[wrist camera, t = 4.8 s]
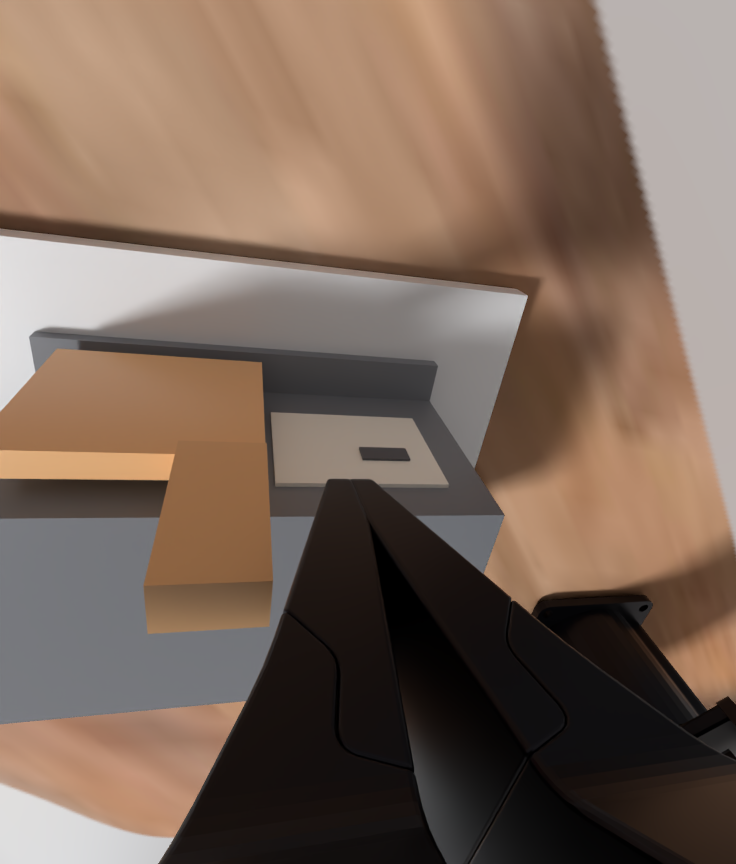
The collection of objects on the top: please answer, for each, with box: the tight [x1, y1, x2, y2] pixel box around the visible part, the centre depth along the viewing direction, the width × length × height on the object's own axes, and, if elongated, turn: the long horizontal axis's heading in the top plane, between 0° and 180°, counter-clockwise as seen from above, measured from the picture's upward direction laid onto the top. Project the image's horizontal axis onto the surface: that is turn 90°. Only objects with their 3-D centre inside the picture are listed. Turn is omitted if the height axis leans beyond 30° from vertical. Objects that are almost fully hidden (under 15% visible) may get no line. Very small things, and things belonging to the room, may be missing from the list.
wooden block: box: [0, 349, 273, 634], centre depth 10 cm, size 5×1×8 cm, turn 81°
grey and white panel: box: [0, 228, 528, 724], centre depth 14 cm, size 18×13×7 cm
